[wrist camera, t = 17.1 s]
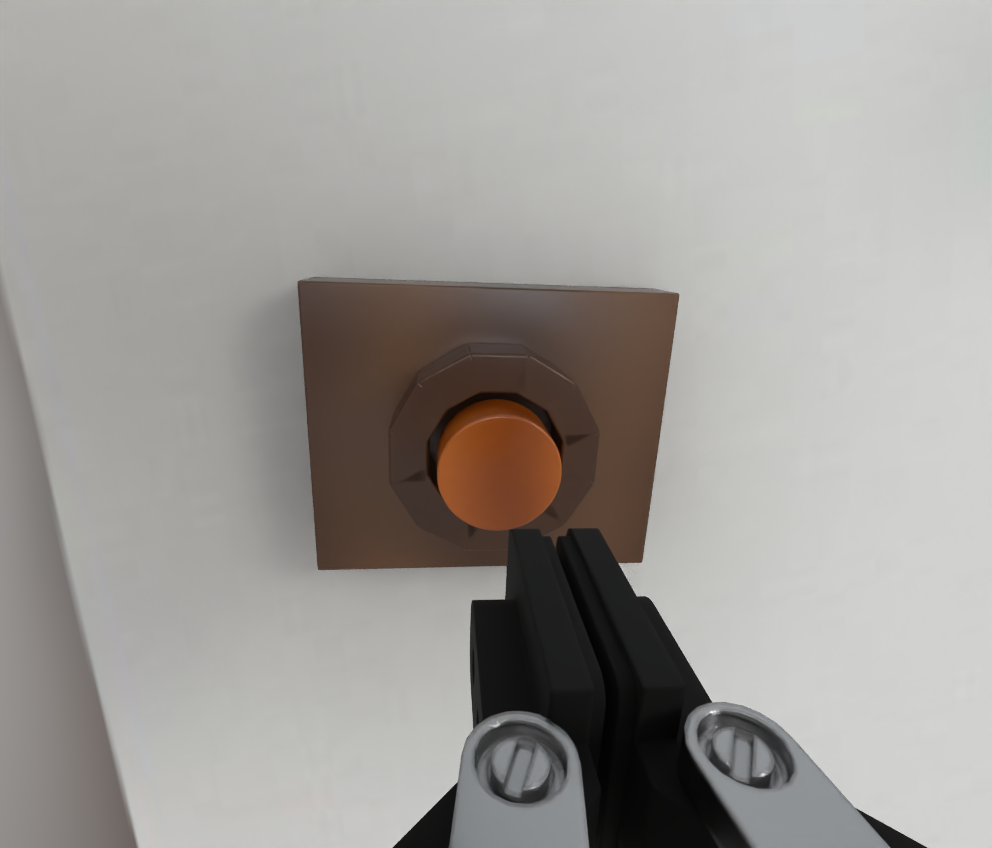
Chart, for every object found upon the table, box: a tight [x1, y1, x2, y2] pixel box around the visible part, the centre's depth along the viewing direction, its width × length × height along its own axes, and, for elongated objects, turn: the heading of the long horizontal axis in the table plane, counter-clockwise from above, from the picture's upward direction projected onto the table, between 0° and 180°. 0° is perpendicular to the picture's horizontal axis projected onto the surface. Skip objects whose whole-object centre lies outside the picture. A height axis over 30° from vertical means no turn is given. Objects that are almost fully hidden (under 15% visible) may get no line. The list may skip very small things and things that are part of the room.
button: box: [437, 399, 562, 531], centre depth 16 cm, size 4×4×2 cm
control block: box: [298, 277, 679, 570], centre depth 19 cm, size 12×10×4 cm
